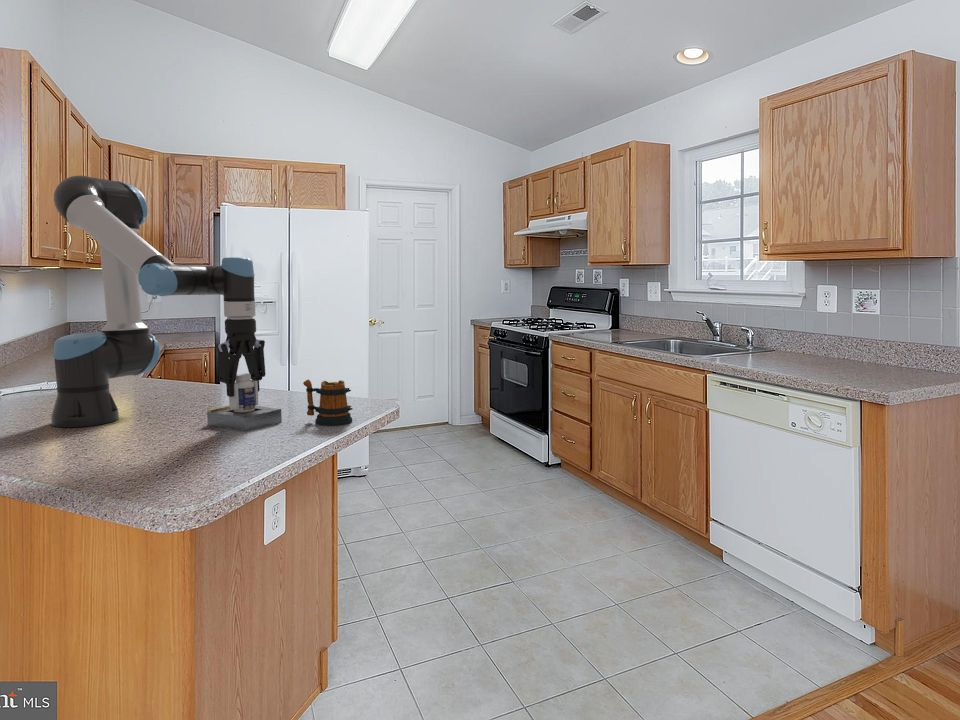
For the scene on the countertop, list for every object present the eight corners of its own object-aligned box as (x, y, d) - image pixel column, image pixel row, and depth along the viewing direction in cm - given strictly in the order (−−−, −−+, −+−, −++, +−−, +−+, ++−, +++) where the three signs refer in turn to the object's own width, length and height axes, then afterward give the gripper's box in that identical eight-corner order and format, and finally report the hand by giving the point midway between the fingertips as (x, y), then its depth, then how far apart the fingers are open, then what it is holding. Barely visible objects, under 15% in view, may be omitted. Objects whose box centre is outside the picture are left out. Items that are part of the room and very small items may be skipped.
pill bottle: (248, 413, 158) (246, 376, 157) (229, 412, 160) (227, 375, 158) (259, 409, 164) (257, 373, 162) (241, 408, 165) (239, 372, 164)
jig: (207, 425, 160) (206, 409, 160) (245, 416, 171) (244, 402, 170) (244, 431, 153) (244, 415, 153) (281, 421, 164) (281, 406, 163)
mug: (357, 418, 169) (356, 376, 167) (348, 426, 159) (347, 382, 157) (310, 417, 169) (308, 376, 168) (298, 426, 159) (296, 382, 158)
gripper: (219, 320, 149) (223, 414, 152) (278, 316, 165) (281, 402, 168) (198, 319, 152) (203, 411, 155) (258, 316, 169) (262, 399, 171)
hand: (244, 406), depth 161 cm, fingers open, 5 cm apart
